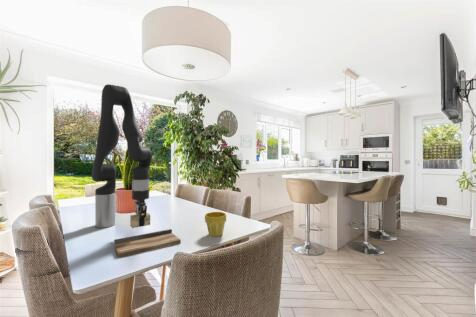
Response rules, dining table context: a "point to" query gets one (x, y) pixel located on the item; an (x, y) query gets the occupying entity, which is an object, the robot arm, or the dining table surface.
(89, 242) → the dining table surface
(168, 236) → the walnut board
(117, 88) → the robot arm
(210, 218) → the plant pot
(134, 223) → the beige block
